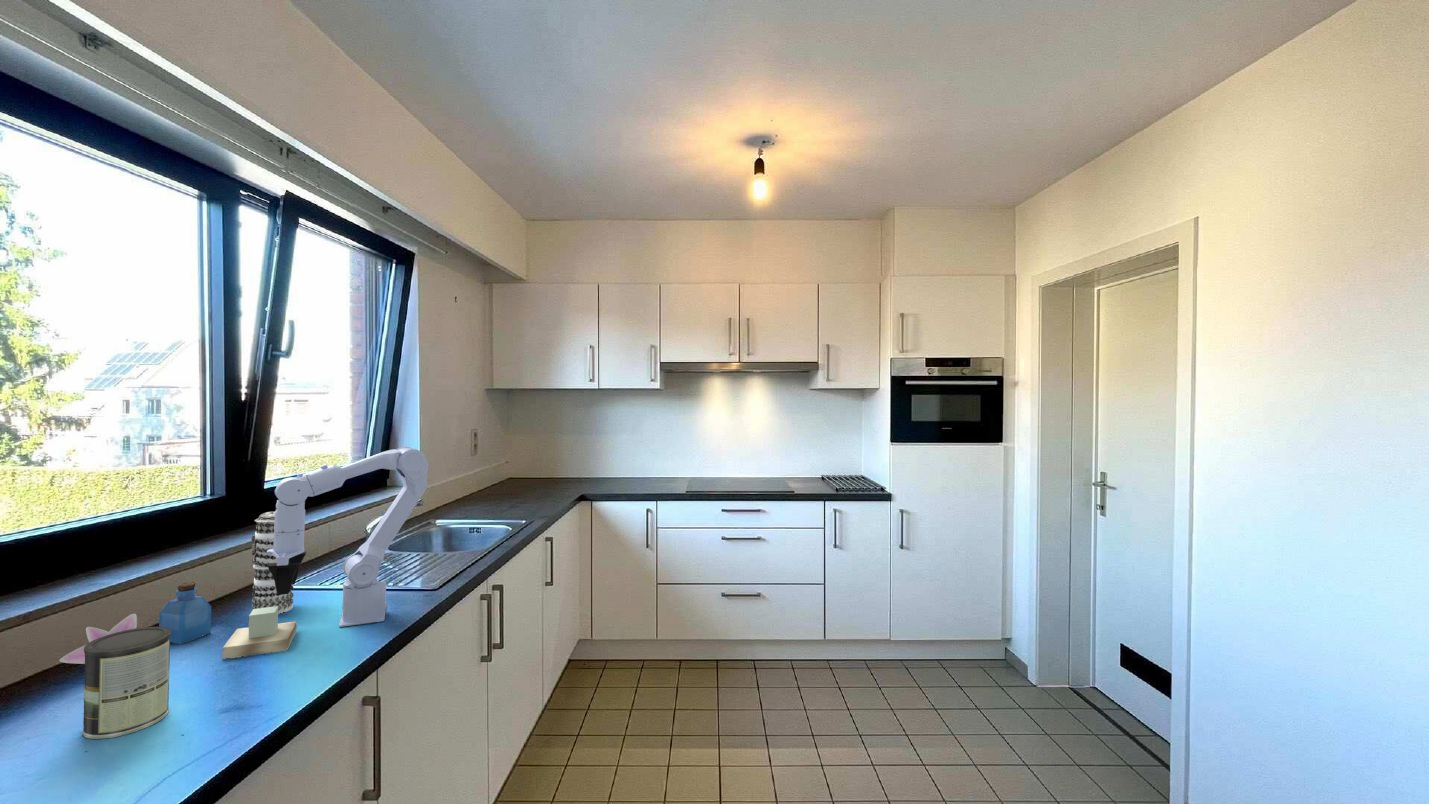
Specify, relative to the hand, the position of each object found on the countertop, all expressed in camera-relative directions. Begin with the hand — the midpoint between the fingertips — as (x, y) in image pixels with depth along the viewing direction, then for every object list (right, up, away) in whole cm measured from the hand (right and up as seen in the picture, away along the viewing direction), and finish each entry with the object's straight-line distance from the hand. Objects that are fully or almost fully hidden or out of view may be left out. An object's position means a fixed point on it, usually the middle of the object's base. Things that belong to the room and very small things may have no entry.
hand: (286, 589), depth 134 cm
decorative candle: (-14, -10, +14) cm, 22 cm away
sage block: (-1, -8, -6) cm, 10 cm away
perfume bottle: (-21, -10, -3) cm, 23 cm away
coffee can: (+1, -11, -37) cm, 38 cm away
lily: (-20, -10, -20) cm, 30 cm away
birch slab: (-1, -11, -6) cm, 13 cm away
